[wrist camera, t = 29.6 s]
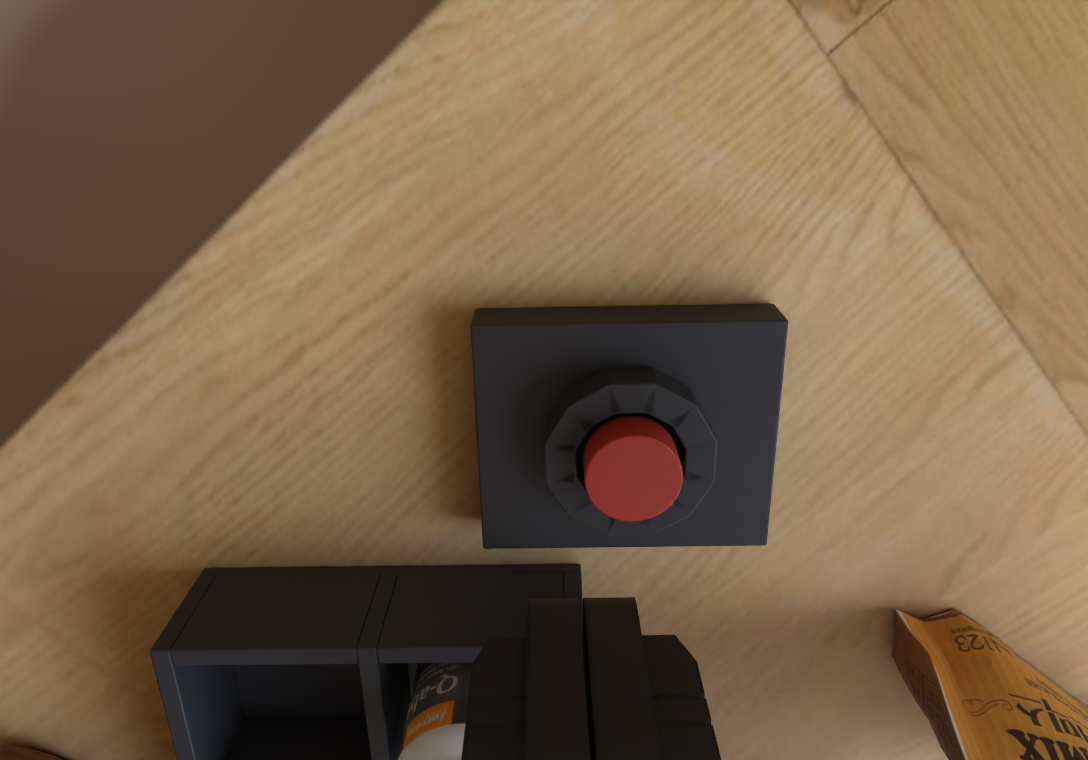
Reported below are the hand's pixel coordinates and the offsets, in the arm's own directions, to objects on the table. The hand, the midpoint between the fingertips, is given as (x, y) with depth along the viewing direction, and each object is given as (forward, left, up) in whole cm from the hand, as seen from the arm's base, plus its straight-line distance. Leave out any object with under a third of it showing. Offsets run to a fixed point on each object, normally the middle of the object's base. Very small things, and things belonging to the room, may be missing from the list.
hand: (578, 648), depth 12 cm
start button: (+3, -7, -19) cm, 20 cm away
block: (+3, -7, -23) cm, 24 cm away
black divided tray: (-8, -23, -23) cm, 33 cm away
